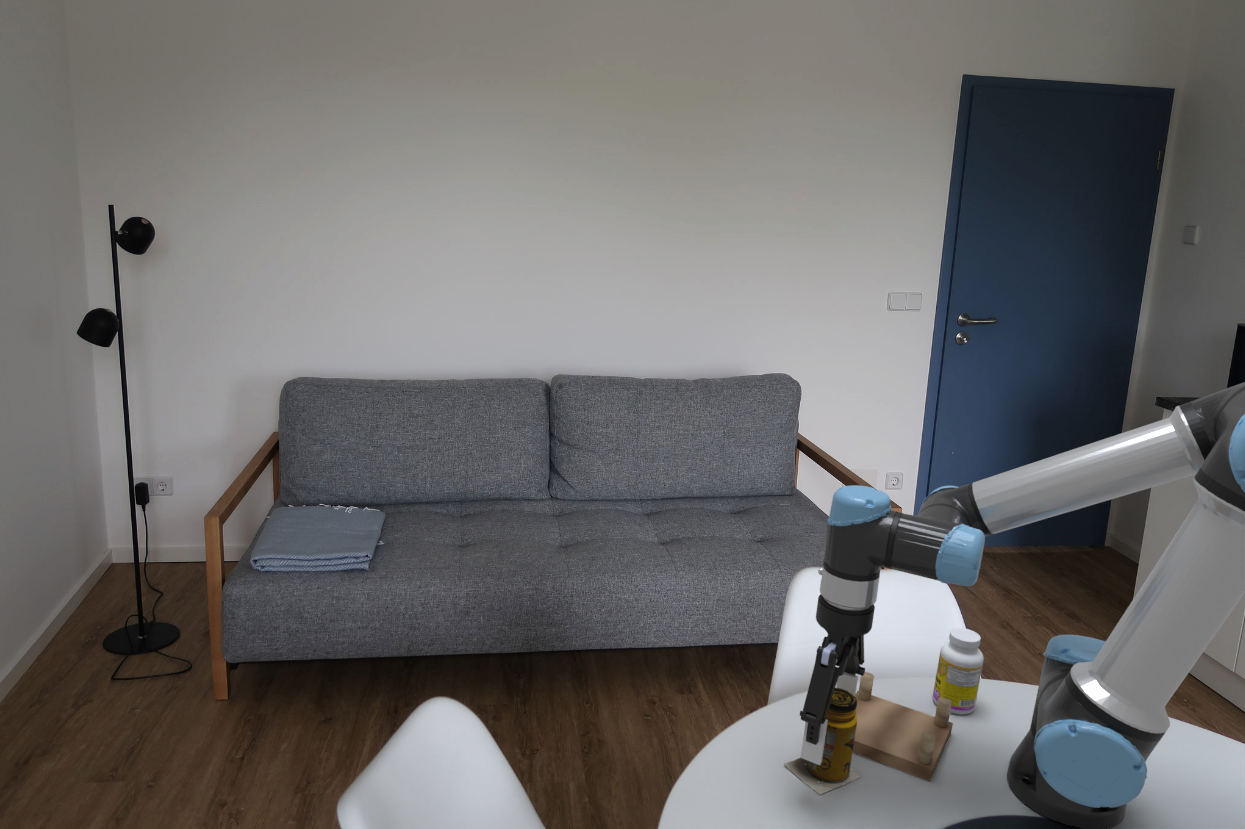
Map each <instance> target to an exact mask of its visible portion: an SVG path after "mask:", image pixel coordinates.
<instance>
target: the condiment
mask: <svg viewBox="0 0 1245 829" xmlns="http://www.w3.org/2000/svg"><path fill="white" fill-rule="evenodd" d="M856 707H857V699H856V698H855V696H854V695H853V694H851V693H850V692H848V691H846V690H844V689H840V688H836V687H835V690H834V693H833V696H832V699H831V703H830V706H829V709H828V712H827V715H826V720H828V722H827V729H826V736H825V743H824V750H823V757H822V763H821V764H820V765H818V764H815V763H813V762H810V761H808V760H805V759H803V758H801V756H800V757H799V758H796V759H794V760H791V761H788V762H785V763H783V765H784V766H785V767H786V768H787V770H789V771H790V772H791V773H793V774H794V775H795V777H797V778H798V779H800V780H801V781H802V783H804V784H806V785H807V786H808V787H810V788H811V790H813V791H815V792H816V793H817V794H819V795H822V794H825V793H828V792H829V791H831V790H833V789H836V788H838V787H841V786H845V785H846V784H849V783H851V782H854V781H855V780H857V779H860V778H861V777H862V776H863V775H862V774H860V772H858V771H856V770H855V769H854V768H852V767H851V765H852V759H853V746H854V739H855V732H856V727H857V716H856Z"/></svg>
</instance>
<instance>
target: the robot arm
mask: <svg viewBox="0 0 1245 829" xmlns="http://www.w3.org/2000/svg"><path fill="white" fill-rule="evenodd" d="M1191 476H1194V477H1193V478H1192V481H1193V483H1194V487H1195V490H1196V492H1197V496H1198V499H1197V500H1196V503H1195V504H1194V505H1193V507H1192V508H1191V509H1190V512H1189V513H1188V515H1187V516H1186V518H1185V519H1184V521H1183V522H1182V524H1181V525H1180V526H1179V528H1178V530H1177V531H1176V533H1175V535H1174V536H1173V537H1172V539H1171V541H1170V543H1169V544H1168V545H1167V547H1166V548H1165V550H1164V551H1163V553H1162V554H1161V556H1160V558H1159V559H1158V561H1157V562H1156V564H1155V565H1154V567H1153V568H1152V569H1151V571H1150V573H1149V575H1147V578H1146V580H1145V581H1144V582H1143V584H1142V585H1141V586H1140V587H1139V588H1140V589H1139V590H1138V592H1137V593H1136V594H1135V596H1134V597H1133V599H1132V601H1131V602H1130V604H1129V605H1128V606H1127V608H1126V609H1125V611H1124V613H1123V615H1122V616H1121V617H1120V619H1119V620H1118V622H1117V623H1116V625H1115V627H1114V628H1113V629H1112V631H1111V633H1110V635H1109V636H1108V637H1107V639H1106V640H1101V639H1098V638H1094V637H1091V636H1085V635H1076V634H1058V635H1055V636H1053V637H1051V639H1049V641H1048V642H1047V646H1046V648H1045V651H1044V652H1043V656H1044V659H1043V663H1042V668H1041V673H1040V677H1039V682H1038V688H1037V692H1036V697H1035V698H1036V699H1035V702H1034V708H1033V711H1032V712H1033V713H1032V718H1031V721H1030V722H1031V723H1030V728H1029V730H1028V731H1027V733H1026V735H1025V736H1024V737H1023V739H1022V740H1021V742H1020V743H1019V745H1017V748H1016V749H1015V751H1014V752H1013V753H1012V755H1011V757H1010V758H1009V761H1008V762H1009V763H1008V767H1007V771H1006V780H1007V783H1008V786H1009V787H1010V789H1011V791H1012V792H1013V793H1014V794H1015V796H1016V797H1017V798H1018V799H1019V800H1020V801H1021V802H1022V803H1023V804H1024V805H1026V806H1027V807H1029V808H1030V809H1032V810H1033V811H1035V812H1037V813H1038V814H1040V815H1041V816H1043V817H1046V818H1047V819H1050V820H1052V821H1054V822H1057V821H1058V822H1057V823H1059V822H1061V823H1060V824H1062V823H1063V824H1062V825H1065V824H1066V825H1065V826H1069V825H1070V826H1069V827H1072V826H1075V827H1074V828H1077V827H1079V828H1078V829H1110V828H1113V827H1116V826H1118V825H1119V824H1120V823H1121V822H1122V821H1123V819H1124V816H1125V813H1126V807H1127V804H1129V803H1130V802H1132V801H1133V800H1135V798H1137V797H1138V796H1139V795H1140V794H1141V793H1142V790H1143V789H1144V785H1145V781H1146V779H1147V778H1148V777H1147V775H1148V768H1147V763H1146V762H1147V760H1148V758H1149V757H1150V756H1151V754H1152V752H1153V751H1154V750H1155V749H1156V747H1157V746H1158V744H1159V742H1160V741H1161V740H1162V738H1163V737H1164V735H1165V734H1166V732H1167V731H1168V729H1170V726H1171V721H1170V718H1169V716H1168V713H1167V710H1166V706H1167V704H1168V703H1169V701H1170V700H1171V698H1173V695H1174V694H1175V693H1176V691H1177V690H1178V689H1179V687H1180V686H1181V684H1182V683H1183V681H1184V680H1185V678H1186V677H1187V676H1188V675H1189V672H1190V671H1191V670H1192V669H1193V667H1194V666H1195V664H1196V663H1197V661H1198V660H1199V658H1200V657H1201V656H1202V655H1203V653H1204V652H1205V650H1206V649H1207V647H1208V646H1209V645H1210V643H1211V642H1212V640H1213V639H1214V638H1215V636H1216V635H1217V633H1218V632H1219V630H1220V629H1221V628H1222V626H1223V625H1224V623H1225V622H1226V621H1227V619H1228V617H1229V616H1230V614H1231V613H1232V612H1233V610H1234V609H1235V608H1236V606H1237V605H1238V603H1239V602H1240V601H1241V599H1242V598H1243V596H1244V595H1245V381H1244V382H1242V383H1239V384H1238V383H1237V384H1236V385H1233V386H1230V387H1227V388H1225V389H1222V390H1219V391H1216V392H1214V393H1211V394H1208V395H1205V396H1202V397H1200V398H1197V399H1194V400H1191V401H1189V402H1185V403H1182V404H1180V405H1177V406H1175V408H1174V410H1173V412H1172V413H1171V415H1170V416H1169V417H1167V418H1163V419H1160V420H1158V421H1155V422H1152V423H1148V424H1146V425H1142V426H1140V427H1137V428H1134V429H1131V430H1127V431H1124V432H1121V433H1118V434H1116V435H1113V436H1109V437H1106V438H1104V439H1100V440H1097V441H1094V442H1092V443H1091V442H1090V443H1089V444H1085V445H1082V446H1078V447H1076V448H1073V449H1069V450H1068V451H1067V450H1066V451H1064V452H1061V453H1058V454H1055V455H1053V456H1050V457H1047V458H1043V459H1041V460H1038V461H1034V462H1032V463H1028V464H1025V465H1022V466H1019V467H1016V468H1013V469H1010V470H1007V471H1004V472H1001V473H998V474H995V475H992V476H990V477H985V478H983V479H980V480H976V481H974V482H972V483H968V484H964V485H961V486H956V485H944V486H943V485H942V486H940V487H937V488H935V489H934V490H933V491H931V492H930V493H929V495H927V497H925V498H924V499H923V501H922V503H921V506H920V508H919V510H918V513H917V515H913V514H909V513H908V514H907V513H903V512H900V511H896V510H893V509H892V505H891V497H890V496H889V495H888V494H887V493H886V492H885V491H883V490H880V489H876V488H875V487H871V486H866V485H855V484H854V485H845V486H842V487H840V488H838V489H836V491H835V492H834V493H833V495H832V501H831V507H830V510H829V516H828V518H827V526H826V536H825V538H826V539H825V546H824V555H823V562H822V567H819V569H818V570H817V572H818V575H820V576H821V579H820V584H819V585H820V586H819V592H820V593H819V595H818V598H817V604H816V605H817V606H816V611H815V612H816V613H815V620H816V623H817V624H818V625H819V626H820V627H821V628H822V629H823V630H825V631H826V633H827V636H824V637H823V639H822V643H821V645H819V646H818V647H817V649H816V654H815V659H814V660H815V662H814V665H813V670H812V674H811V678H810V682H809V684H808V689H807V693H806V695H805V701H804V704H803V708H802V710H799V717H800V721H802V722H805V723H804V729H803V730H804V731H803V739H802V745H801V754H800V757H801V758H803V759H805V760H808V761H810V762H813V763H815V764H818V765H820V764H821V763H822V757H823V750H824V743H825V736H826V729H827V722H828V720H826V715H827V712H828V709H829V706H830V703H831V699H832V696H833V693H834V690H835V688H840V689H844V690H846V691H848V692H850V693H851V694H853V695H854V696H855V694H856V693H857V685H858V678H859V676H861V675H862V676H863V675H864V673H865V672H866V668H865V667H863V666H862V665H863V664H864V663H865V635H867V634H868V633H870V632H871V630H872V628H873V623H874V622H873V621H874V615H875V609H876V606H875V604H876V602H877V597H878V590H879V586H880V585H879V583H880V576H881V568H886V569H889V570H894V571H899V572H903V573H905V574H906V573H907V574H908V575H909V574H910V575H914V576H918V577H922V578H926V579H930V580H934V581H938V582H941V583H943V584H946V585H947V584H952V585H957V586H964V587H970V586H973V585H975V584H976V583H977V581H978V578H979V574H980V570H981V564H982V559H983V552H984V548H985V541H986V537H990V536H993V535H995V534H999V533H1002V532H1005V531H1008V530H1012V529H1015V528H1019V527H1022V526H1026V525H1029V524H1032V523H1035V522H1039V521H1042V520H1043V521H1044V520H1047V519H1048V518H1053V517H1056V516H1059V515H1062V514H1066V513H1067V514H1068V513H1070V512H1074V511H1077V510H1081V509H1082V508H1083V509H1084V508H1086V507H1090V506H1094V505H1096V504H1100V503H1104V502H1106V501H1110V500H1113V499H1118V498H1121V497H1124V496H1127V495H1130V494H1133V493H1138V492H1141V491H1144V490H1148V489H1151V488H1153V487H1154V488H1155V487H1158V486H1161V485H1162V486H1163V485H1165V484H1168V483H1171V482H1175V481H1178V480H1181V479H1186V478H1188V477H1191ZM858 675H859V676H858Z"/></svg>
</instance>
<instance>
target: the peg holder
mask: <svg viewBox="0 0 1245 829" xmlns="http://www.w3.org/2000/svg"><path fill="white" fill-rule="evenodd" d="M874 679H875V675H874V674H873V673H871V672H868V671H867V672H866V671H865V673H864V675H863V676H862V675H860V679H859V680H860V681H859V685H858V686H859V688H858V690H856V694H855V698H856V699H857V707H856V716H857V727H856V732H855V739H854V746H853V753H854V754H856V755H859V756H861V757H863V758H867V759H869V760H872V761H875V762H877V763H880V764H883V765H884V766H887V767H890V768H893V769H896V770H898V771H901V772H904V773H906V774H908V775H912V776H915V777H916V778H918V779H922V780H925V781H927V782H932V779H933V776H934V774H935V772H936V770H937V767H938V766H939V763H940V760H941V758H942V755H943V754H944V751H945V749H946V746H947V745H948V743H949V740H950V737H951V735H952V729H953V726H954V725H953V724H954V723H953V722H951V721H950V716H951V713H950V710H951V705H952V702H951V701H950V700H949V699H947V698H939V699H938V703H937V705H936V710H935V715H931V714H928V713H925V712H923V711H919V710H916V709H913V708H910V707H908V706H904V705H902V704H899V703H896V702H893V701H891V700H888V699H884V698H881V697H879V696H877V695H876V696H875V695H872V693H873V686H874ZM853 753H852V754H853Z"/></svg>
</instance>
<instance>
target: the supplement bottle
mask: <svg viewBox="0 0 1245 829" xmlns="http://www.w3.org/2000/svg"><path fill="white" fill-rule="evenodd" d="M948 639H949V641H946V642H945V643H944V644H942V646H941V647H940V650H939V656H938V663H937V668H936V674H935V681H934V686H933V691H932V692H933V693H932V701H933V703H934V704H935V706H937V703H938V699H939V698H947V699H949V700H950V701H951V702H952V705H951V710H950V714H953V715H954V714H955V715H968V714H971V713H972V712H974V710H975V708H976V704H977V698H978V692H979V686H980V681H981V676H982V671H983V665H984V659H985V658H984V655H983V653H982V651H981V649H979V647H980V645H981V639H982V637H981V636H980V634H979V633H978V632H976V631H974V630H972V629H969V628H964V627H954V628H952V629H951V630H950V631H949V635H948Z"/></svg>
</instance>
